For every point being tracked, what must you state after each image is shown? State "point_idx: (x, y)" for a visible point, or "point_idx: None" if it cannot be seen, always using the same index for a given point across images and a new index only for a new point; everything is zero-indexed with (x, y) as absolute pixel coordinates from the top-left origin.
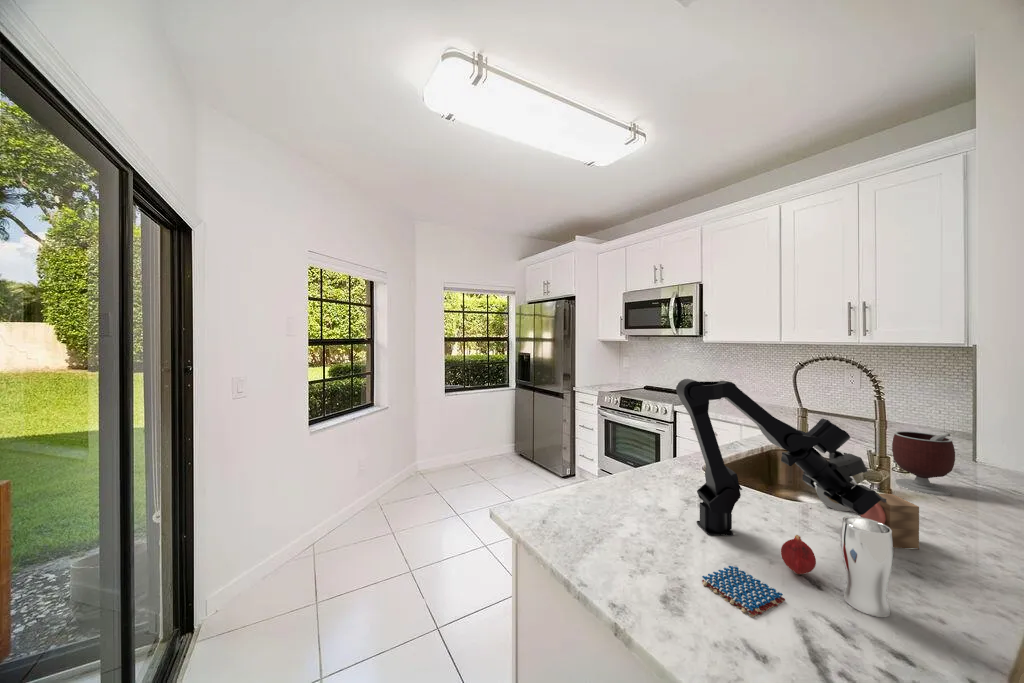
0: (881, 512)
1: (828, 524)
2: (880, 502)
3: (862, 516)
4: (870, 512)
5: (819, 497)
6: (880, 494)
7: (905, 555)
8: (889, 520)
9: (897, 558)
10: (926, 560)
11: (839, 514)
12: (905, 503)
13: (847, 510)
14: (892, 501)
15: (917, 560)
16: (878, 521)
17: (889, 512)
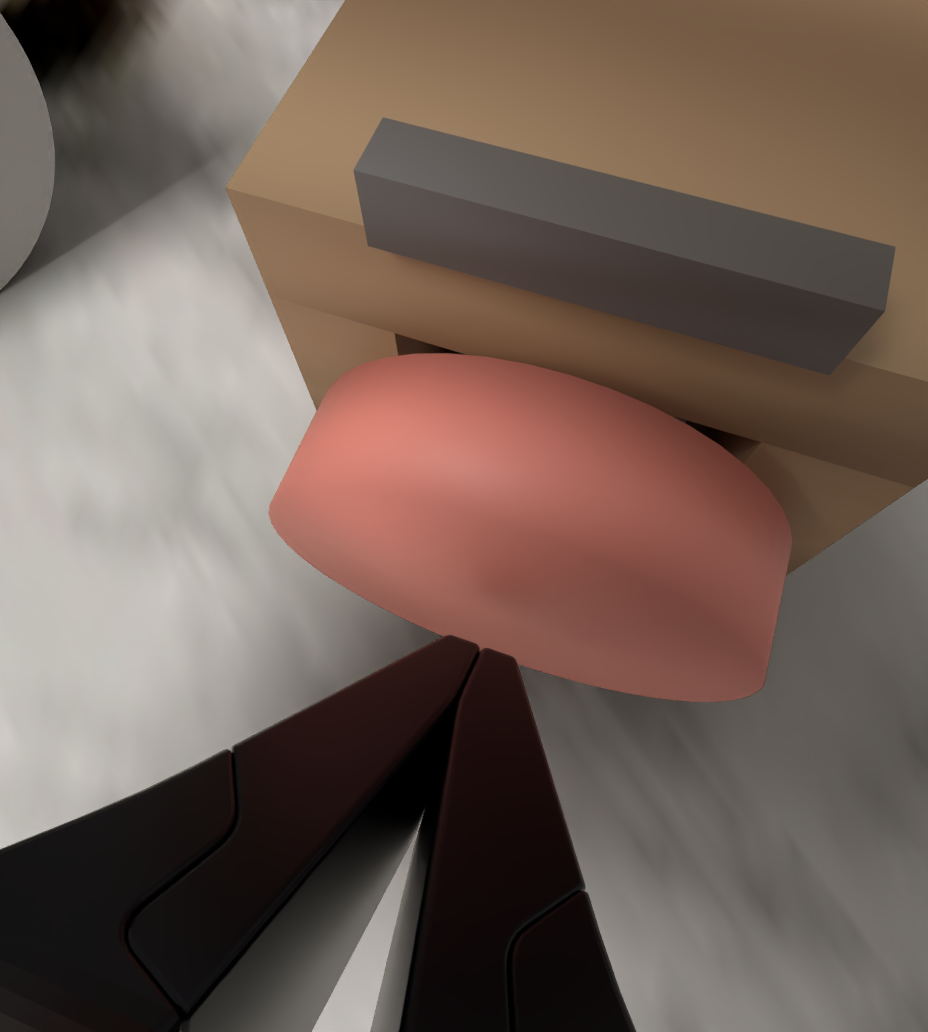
0: (782, 590)
1: (101, 786)
2: (672, 350)
3: (387, 602)
4: (560, 624)
5: None
6: (401, 4)
7: (826, 667)
8: (801, 554)
9: (883, 833)
10: (917, 568)
11: (18, 402)
12: (904, 14)
13: (16, 267)
14: (787, 135)
15: (919, 657)
16: (719, 698)
17: (881, 495)
